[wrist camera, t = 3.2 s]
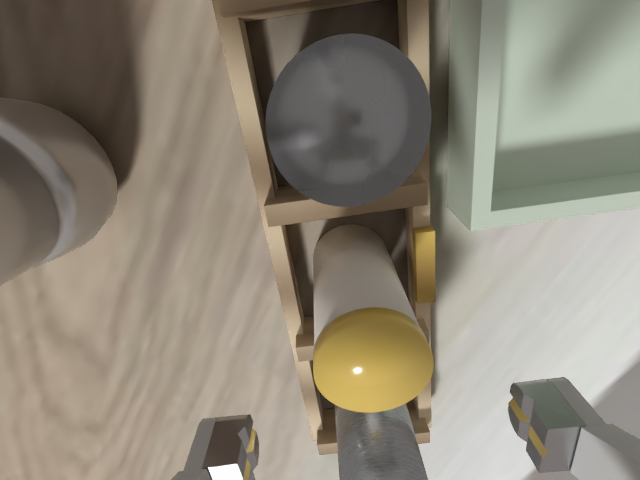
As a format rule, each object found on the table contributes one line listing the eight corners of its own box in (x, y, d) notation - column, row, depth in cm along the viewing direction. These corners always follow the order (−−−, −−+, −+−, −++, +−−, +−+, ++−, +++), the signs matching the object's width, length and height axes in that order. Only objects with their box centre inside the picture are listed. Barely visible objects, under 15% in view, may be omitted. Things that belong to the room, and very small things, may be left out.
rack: (219, -5, 14) (201, -18, 12) (418, -38, 14) (439, -59, 11) (313, 420, 25) (313, 455, 22) (425, 407, 24) (437, 441, 22)
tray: (451, -87, 13) (488, -128, 10) (779, -143, 13) (908, -202, 10) (446, 207, 18) (470, 231, 15) (681, 174, 18) (748, 193, 15)
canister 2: (327, 346, 22) (336, 482, 15) (392, 338, 22) (432, 471, 15) (335, 392, 24) (346, 533, 16) (395, 384, 23) (433, 524, 16)
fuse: (306, 229, 18) (304, 331, 11) (385, 218, 18) (433, 314, 11) (318, 294, 20) (322, 418, 13) (389, 284, 20) (434, 405, 13)
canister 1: (278, 59, 15) (248, 49, 8) (372, 44, 15) (431, 19, 8) (294, 153, 17) (282, 216, 9) (379, 140, 17) (432, 195, 9)
